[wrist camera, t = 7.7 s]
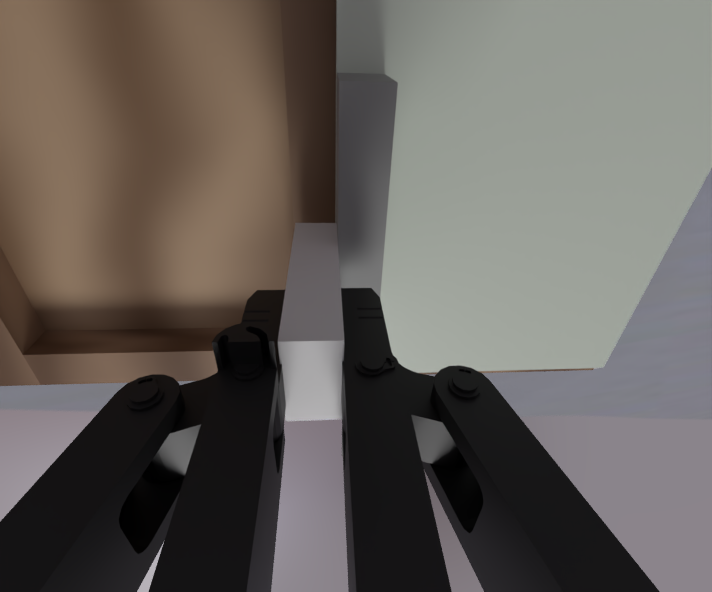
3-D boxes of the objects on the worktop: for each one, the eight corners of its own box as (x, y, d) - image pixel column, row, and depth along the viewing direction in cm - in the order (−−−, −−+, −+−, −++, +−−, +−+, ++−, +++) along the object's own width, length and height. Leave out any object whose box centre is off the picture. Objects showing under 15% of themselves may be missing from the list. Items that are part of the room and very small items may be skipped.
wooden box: (26, 355, 21) (-2, 386, 19) (-326, -233, 10) (-476, -295, 8) (571, 343, 23) (592, 369, 21) (793, -142, 12) (875, -172, 10)
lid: (334, 363, 20) (336, 416, 17) (336, -159, 10) (341, -236, 7) (594, 357, 21) (635, 405, 18) (838, -120, 11) (1013, -172, 8)
